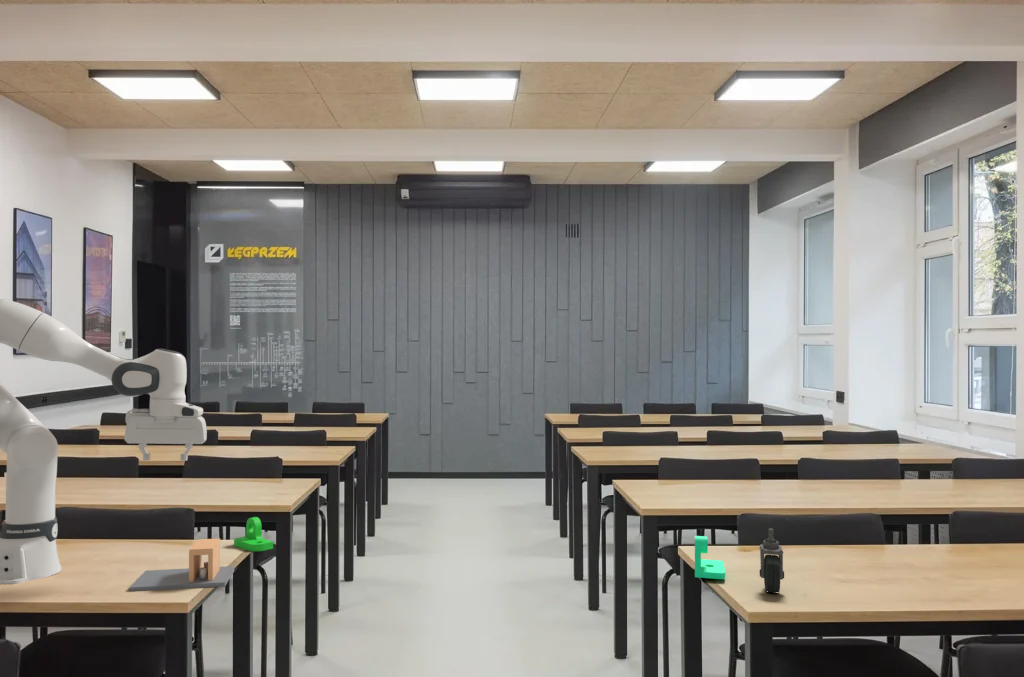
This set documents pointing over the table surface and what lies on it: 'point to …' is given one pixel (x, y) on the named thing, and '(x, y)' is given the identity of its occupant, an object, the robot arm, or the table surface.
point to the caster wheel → (771, 563)
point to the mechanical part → (253, 537)
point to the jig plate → (180, 579)
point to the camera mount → (707, 561)
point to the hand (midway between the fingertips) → (165, 460)
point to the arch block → (195, 558)
